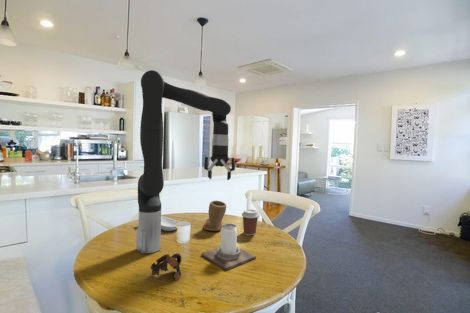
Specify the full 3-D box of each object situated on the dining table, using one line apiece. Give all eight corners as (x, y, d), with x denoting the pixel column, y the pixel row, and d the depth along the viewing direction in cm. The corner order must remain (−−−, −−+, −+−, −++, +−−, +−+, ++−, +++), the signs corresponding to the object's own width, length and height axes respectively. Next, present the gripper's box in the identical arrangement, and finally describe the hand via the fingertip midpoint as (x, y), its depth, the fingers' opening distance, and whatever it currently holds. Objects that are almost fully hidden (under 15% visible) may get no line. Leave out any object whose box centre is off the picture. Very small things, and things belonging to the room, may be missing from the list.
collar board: (226, 270, 94) (226, 262, 94) (201, 255, 106) (201, 248, 105) (255, 258, 105) (256, 251, 105) (230, 246, 116) (230, 239, 116)
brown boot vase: (224, 233, 133) (225, 204, 132) (202, 232, 133) (203, 203, 133) (226, 224, 148) (227, 198, 148) (206, 223, 149) (207, 197, 148)
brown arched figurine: (173, 287, 83) (161, 266, 82) (154, 292, 87) (142, 272, 86) (192, 263, 93) (181, 244, 93) (174, 268, 98) (163, 250, 97)
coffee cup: (261, 232, 135) (262, 210, 135) (253, 238, 127) (254, 214, 127) (246, 229, 140) (247, 207, 139) (237, 234, 132) (238, 211, 132)
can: (224, 259, 101) (225, 229, 100) (218, 252, 107) (218, 224, 106) (238, 256, 104) (239, 227, 103) (232, 250, 110) (232, 222, 109)
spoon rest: (184, 227, 140) (184, 214, 140) (173, 234, 129) (174, 220, 129) (147, 222, 147) (147, 210, 146) (133, 228, 135) (134, 215, 135)
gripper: (236, 145, 121) (235, 179, 122) (207, 144, 123) (206, 177, 123) (234, 145, 113) (233, 181, 114) (203, 144, 115) (202, 179, 116)
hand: (219, 179), depth 119 cm, fingers open, 8 cm apart
